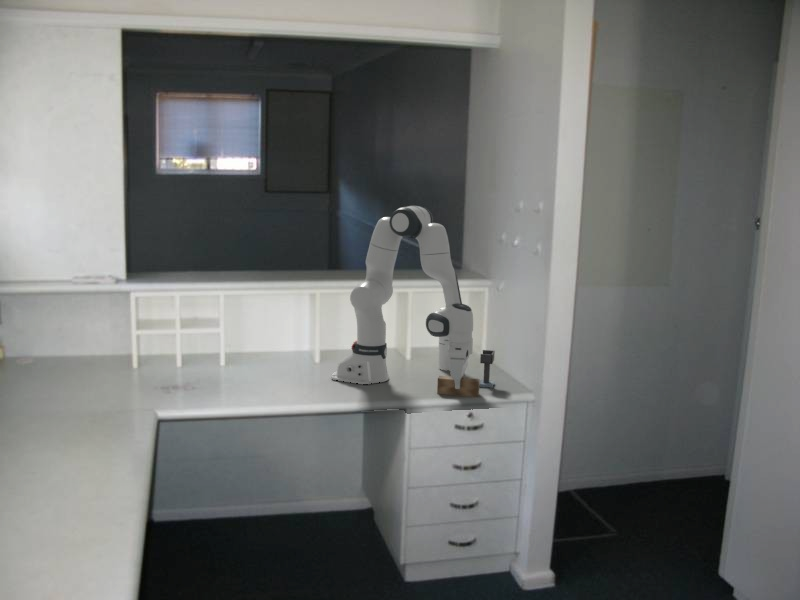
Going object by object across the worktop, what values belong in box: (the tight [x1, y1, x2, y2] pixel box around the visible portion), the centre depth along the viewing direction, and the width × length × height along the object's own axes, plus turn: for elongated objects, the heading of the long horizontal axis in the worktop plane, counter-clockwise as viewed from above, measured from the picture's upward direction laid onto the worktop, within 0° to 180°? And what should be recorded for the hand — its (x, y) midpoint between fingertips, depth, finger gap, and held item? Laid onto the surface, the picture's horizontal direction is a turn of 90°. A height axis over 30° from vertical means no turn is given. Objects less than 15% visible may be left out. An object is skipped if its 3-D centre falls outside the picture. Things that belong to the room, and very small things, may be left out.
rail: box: [436, 375, 481, 398], centre depth 295 cm, size 15×4×6 cm, turn 78°
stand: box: [479, 349, 495, 389], centre depth 307 cm, size 18×7×13 cm, turn 77°
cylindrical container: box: [437, 306, 450, 371], centre depth 328 cm, size 7×7×25 cm
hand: (459, 384), depth 294 cm, fingers open, 8 cm apart
